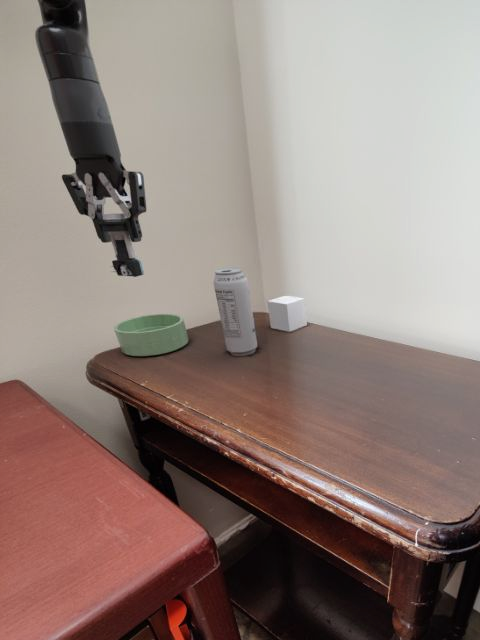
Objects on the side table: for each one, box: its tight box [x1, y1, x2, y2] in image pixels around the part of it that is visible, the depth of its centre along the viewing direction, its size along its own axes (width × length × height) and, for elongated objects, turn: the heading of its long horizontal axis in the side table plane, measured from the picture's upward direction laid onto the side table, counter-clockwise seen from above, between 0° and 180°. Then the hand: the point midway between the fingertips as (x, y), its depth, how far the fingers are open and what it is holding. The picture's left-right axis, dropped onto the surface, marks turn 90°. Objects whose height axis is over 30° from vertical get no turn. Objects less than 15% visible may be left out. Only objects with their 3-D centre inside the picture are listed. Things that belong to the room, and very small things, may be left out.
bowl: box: [113, 313, 190, 357], centre depth 82 cm, size 13×13×5 cm
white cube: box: [267, 295, 308, 333], centre depth 90 cm, size 6×6×6 cm
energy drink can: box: [212, 267, 258, 357], centre depth 74 cm, size 6×6×15 cm
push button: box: [99, 213, 145, 278], centre depth 72 cm, size 7×5×10 cm
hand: (121, 241), depth 72 cm, fingers closed on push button, 5 cm apart
